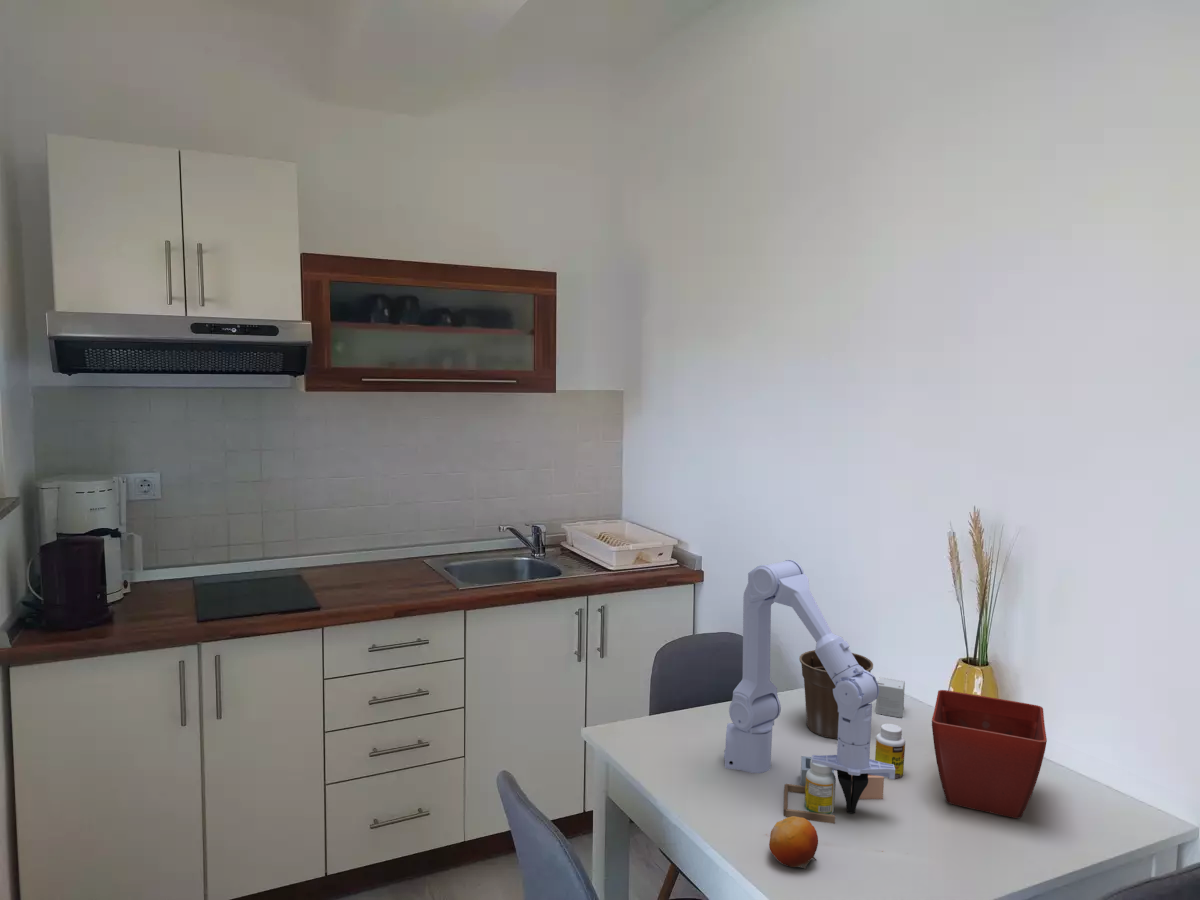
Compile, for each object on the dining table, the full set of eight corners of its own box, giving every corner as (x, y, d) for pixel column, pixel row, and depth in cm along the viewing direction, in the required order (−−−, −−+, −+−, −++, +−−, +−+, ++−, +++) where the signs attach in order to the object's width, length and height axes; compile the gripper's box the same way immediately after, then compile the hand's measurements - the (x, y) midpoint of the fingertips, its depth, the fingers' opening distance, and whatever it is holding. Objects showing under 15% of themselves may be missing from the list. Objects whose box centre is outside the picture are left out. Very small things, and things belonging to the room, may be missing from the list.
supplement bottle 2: (891, 785, 164) (894, 735, 163) (868, 774, 169) (870, 725, 168) (909, 778, 167) (911, 729, 166) (886, 767, 172) (888, 719, 171)
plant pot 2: (934, 765, 173) (938, 687, 171) (1037, 787, 165) (1042, 705, 163) (926, 807, 156) (931, 721, 154) (1040, 833, 147) (1047, 742, 146)
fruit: (820, 874, 131) (797, 825, 133) (778, 884, 135) (756, 836, 137) (835, 850, 138) (812, 804, 140) (794, 860, 142) (773, 815, 144)
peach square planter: (851, 802, 157) (852, 777, 156) (841, 787, 163) (842, 762, 162) (882, 802, 157) (884, 777, 157) (871, 787, 163) (872, 762, 163)
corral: (783, 820, 150) (784, 810, 150) (784, 793, 160) (784, 783, 160) (834, 827, 148) (835, 816, 148) (831, 799, 158) (832, 789, 158)
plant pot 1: (785, 731, 188) (788, 662, 187) (811, 708, 202) (814, 644, 200) (856, 750, 179) (860, 678, 178) (878, 725, 192) (882, 658, 191)
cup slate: (800, 794, 160) (801, 769, 159) (800, 779, 165) (801, 755, 165) (832, 798, 158) (834, 773, 158) (831, 783, 164) (832, 759, 164)
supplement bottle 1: (826, 822, 150) (828, 771, 149) (799, 812, 153) (801, 761, 152) (838, 811, 154) (841, 761, 153) (812, 801, 157) (814, 752, 156)
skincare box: (903, 709, 202) (905, 680, 202) (901, 718, 197) (903, 688, 196) (877, 705, 205) (879, 676, 204) (875, 714, 199) (876, 684, 199)
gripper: (813, 743, 149) (810, 815, 150) (898, 753, 145) (894, 826, 147) (812, 727, 156) (809, 796, 157) (893, 736, 152) (890, 807, 153)
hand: (850, 810), depth 152 cm, fingers closed
